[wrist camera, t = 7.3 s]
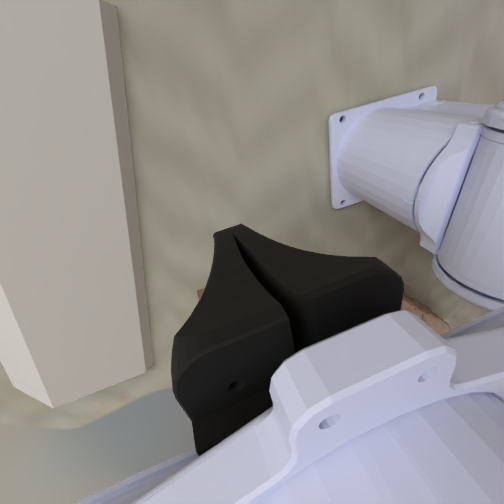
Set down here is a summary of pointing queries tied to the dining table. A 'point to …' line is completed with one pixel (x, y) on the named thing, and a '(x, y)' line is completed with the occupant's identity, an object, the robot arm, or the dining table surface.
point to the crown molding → (67, 204)
